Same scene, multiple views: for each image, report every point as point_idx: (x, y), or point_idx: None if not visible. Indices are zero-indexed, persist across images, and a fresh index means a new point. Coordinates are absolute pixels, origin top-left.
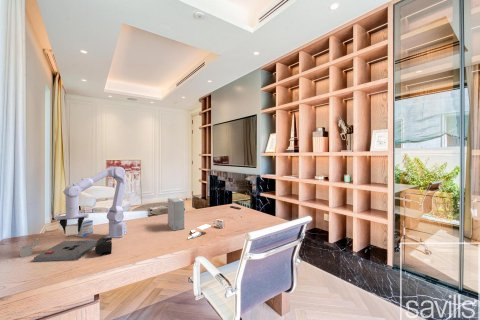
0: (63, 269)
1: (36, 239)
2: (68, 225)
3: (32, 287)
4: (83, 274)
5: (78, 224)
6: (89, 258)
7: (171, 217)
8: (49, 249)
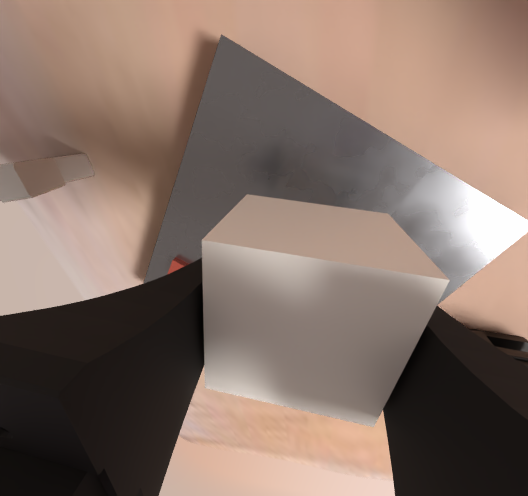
0: (280, 406)
1: (11, 200)
2: (228, 317)
3: (221, 438)
4: (337, 460)
5: (397, 447)
6: None
7: None
8: (172, 217)
